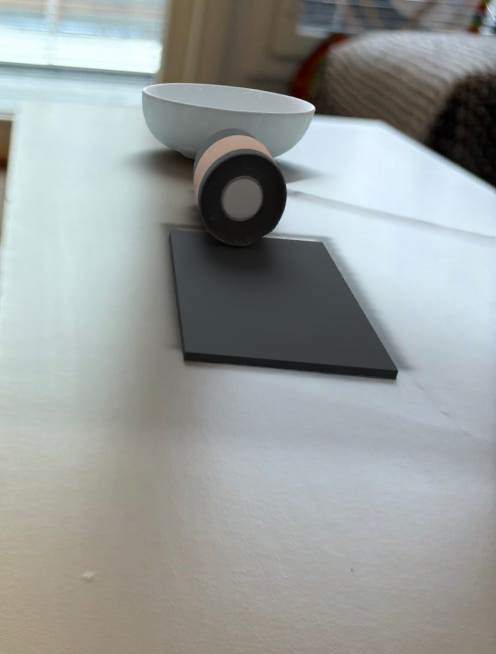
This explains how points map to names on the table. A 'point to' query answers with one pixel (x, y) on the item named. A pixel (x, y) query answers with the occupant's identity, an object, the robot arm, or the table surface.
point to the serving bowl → (223, 115)
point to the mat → (271, 307)
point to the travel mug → (238, 187)
